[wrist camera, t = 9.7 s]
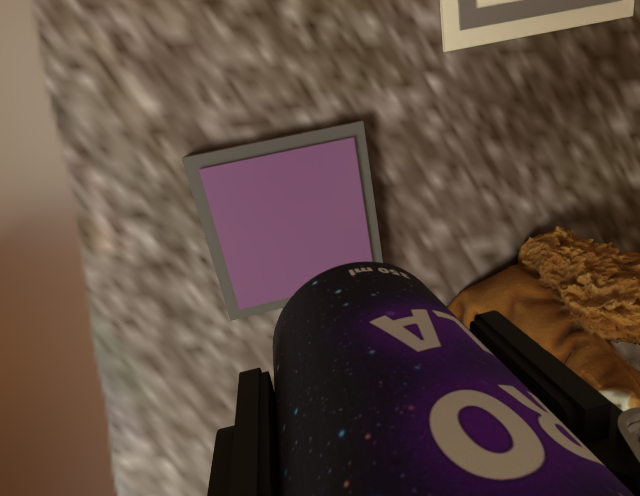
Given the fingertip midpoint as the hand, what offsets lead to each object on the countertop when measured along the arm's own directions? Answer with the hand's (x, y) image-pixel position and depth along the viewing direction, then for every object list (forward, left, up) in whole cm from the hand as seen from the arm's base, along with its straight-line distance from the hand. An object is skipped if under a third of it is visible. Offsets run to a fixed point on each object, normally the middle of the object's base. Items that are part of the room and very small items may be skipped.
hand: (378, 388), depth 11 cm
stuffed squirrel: (-16, +9, -17) cm, 25 cm away
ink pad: (+1, -1, -17) cm, 17 cm away
